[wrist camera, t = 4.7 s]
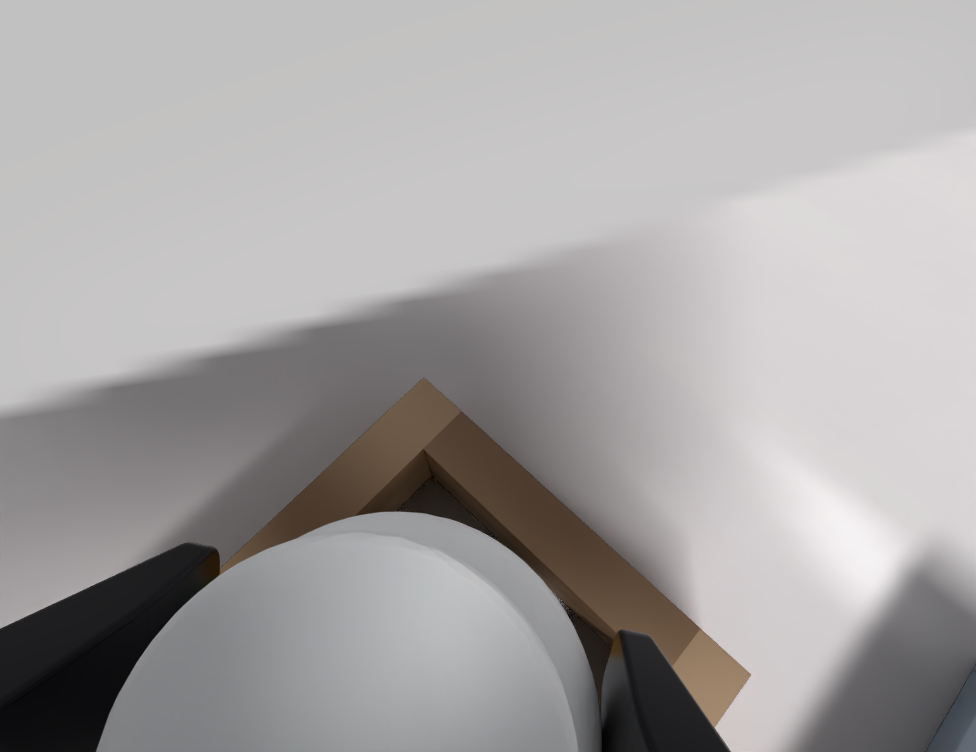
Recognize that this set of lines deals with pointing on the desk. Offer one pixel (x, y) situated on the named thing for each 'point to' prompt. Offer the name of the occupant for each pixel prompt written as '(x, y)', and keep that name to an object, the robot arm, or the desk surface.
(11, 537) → the desk surface
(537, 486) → the frame
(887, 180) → the desk surface
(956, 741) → the tray
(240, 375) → the desk surface
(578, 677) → the supplement bottle
